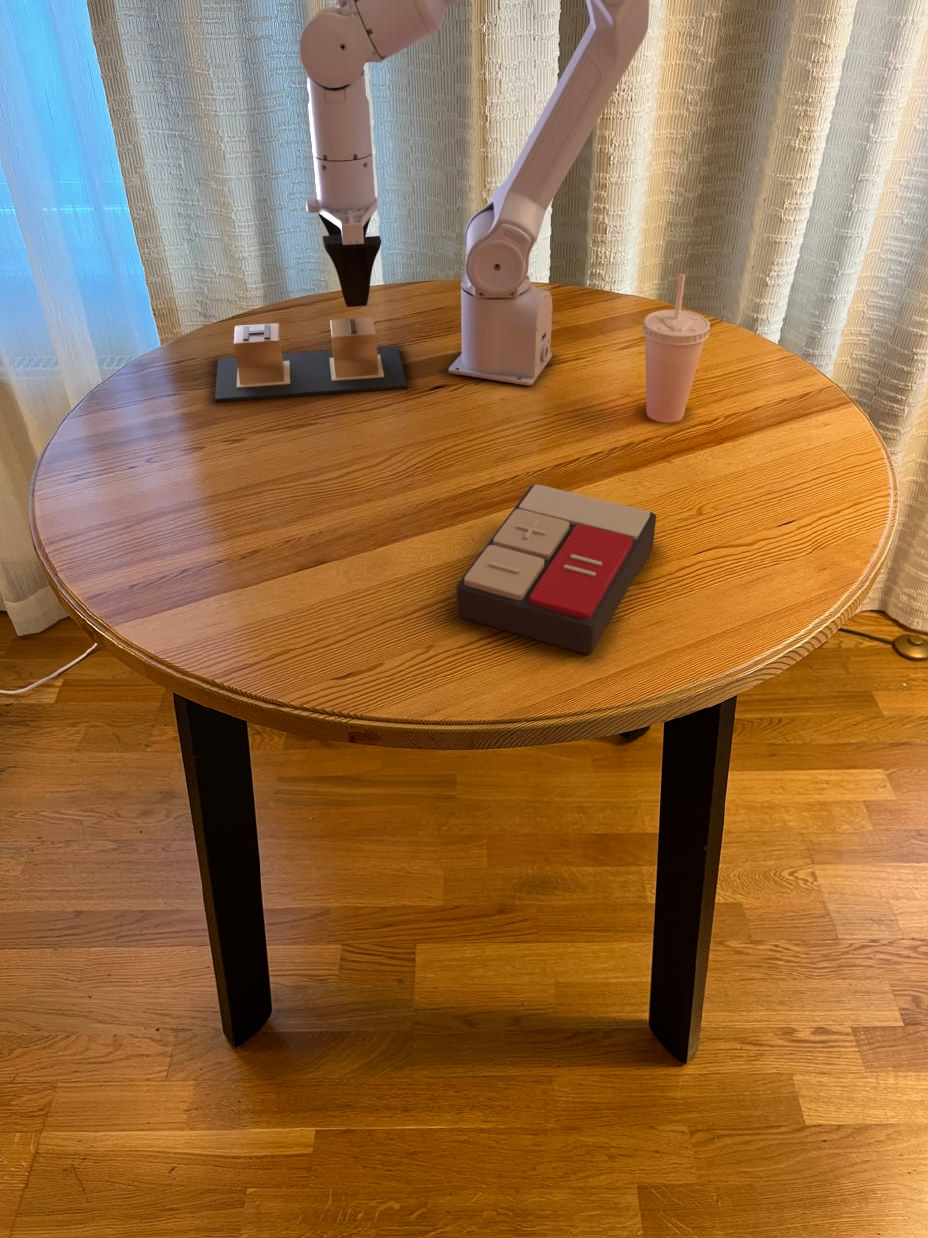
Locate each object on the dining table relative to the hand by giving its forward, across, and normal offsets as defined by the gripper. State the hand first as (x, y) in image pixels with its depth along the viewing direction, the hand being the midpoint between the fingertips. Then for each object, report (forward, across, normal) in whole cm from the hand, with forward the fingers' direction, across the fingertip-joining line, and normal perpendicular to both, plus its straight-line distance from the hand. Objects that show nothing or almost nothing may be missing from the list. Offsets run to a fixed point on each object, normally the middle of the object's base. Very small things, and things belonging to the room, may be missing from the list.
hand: (353, 291), depth 107 cm
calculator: (+9, +42, +12) cm, 45 cm away
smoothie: (+9, +16, +30) cm, 35 cm away
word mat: (+8, +1, -5) cm, 10 cm away
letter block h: (+8, +1, -11) cm, 13 cm away
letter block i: (+8, +1, 0) cm, 8 cm away
